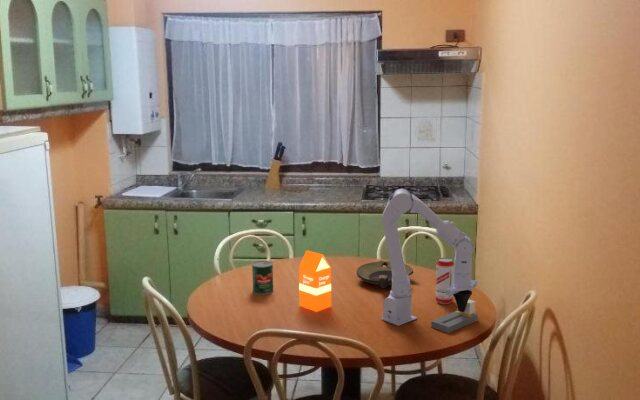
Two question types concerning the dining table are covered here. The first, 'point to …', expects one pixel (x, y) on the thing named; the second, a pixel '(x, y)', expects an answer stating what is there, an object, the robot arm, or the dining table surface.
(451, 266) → the beer can
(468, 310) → the fader knob
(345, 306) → the dining table surface
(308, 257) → the orange juice
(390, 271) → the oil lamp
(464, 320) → the fader deck
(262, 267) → the canned tomato
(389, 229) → the robot arm
